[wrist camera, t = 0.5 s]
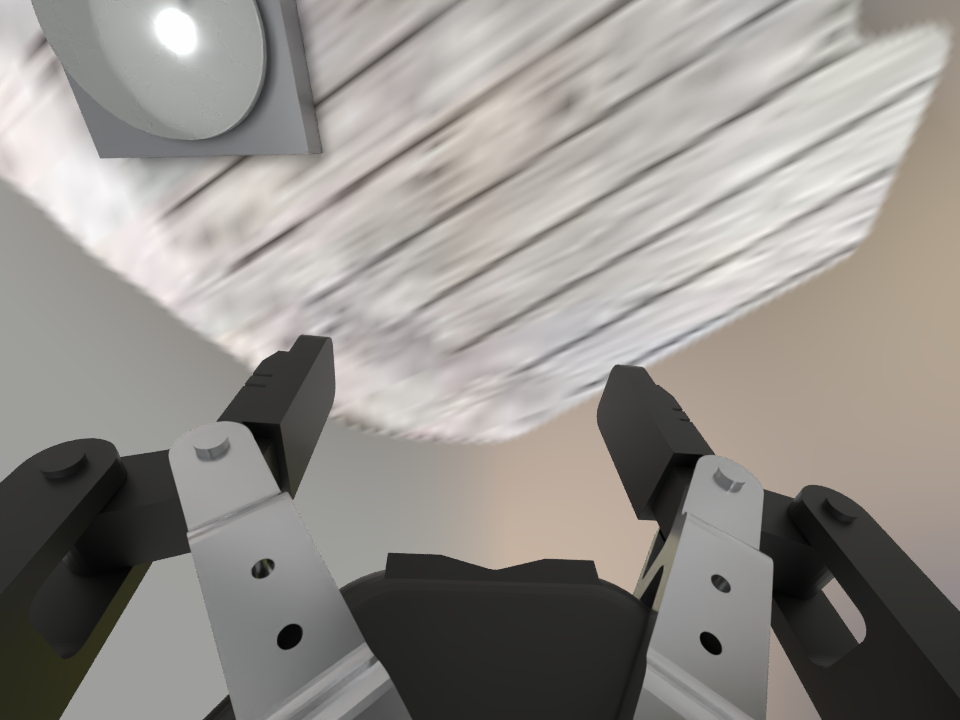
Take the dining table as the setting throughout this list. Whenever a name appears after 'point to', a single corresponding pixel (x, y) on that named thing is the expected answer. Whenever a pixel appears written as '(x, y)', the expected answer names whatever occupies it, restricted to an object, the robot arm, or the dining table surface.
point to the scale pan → (163, 60)
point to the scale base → (265, 131)
